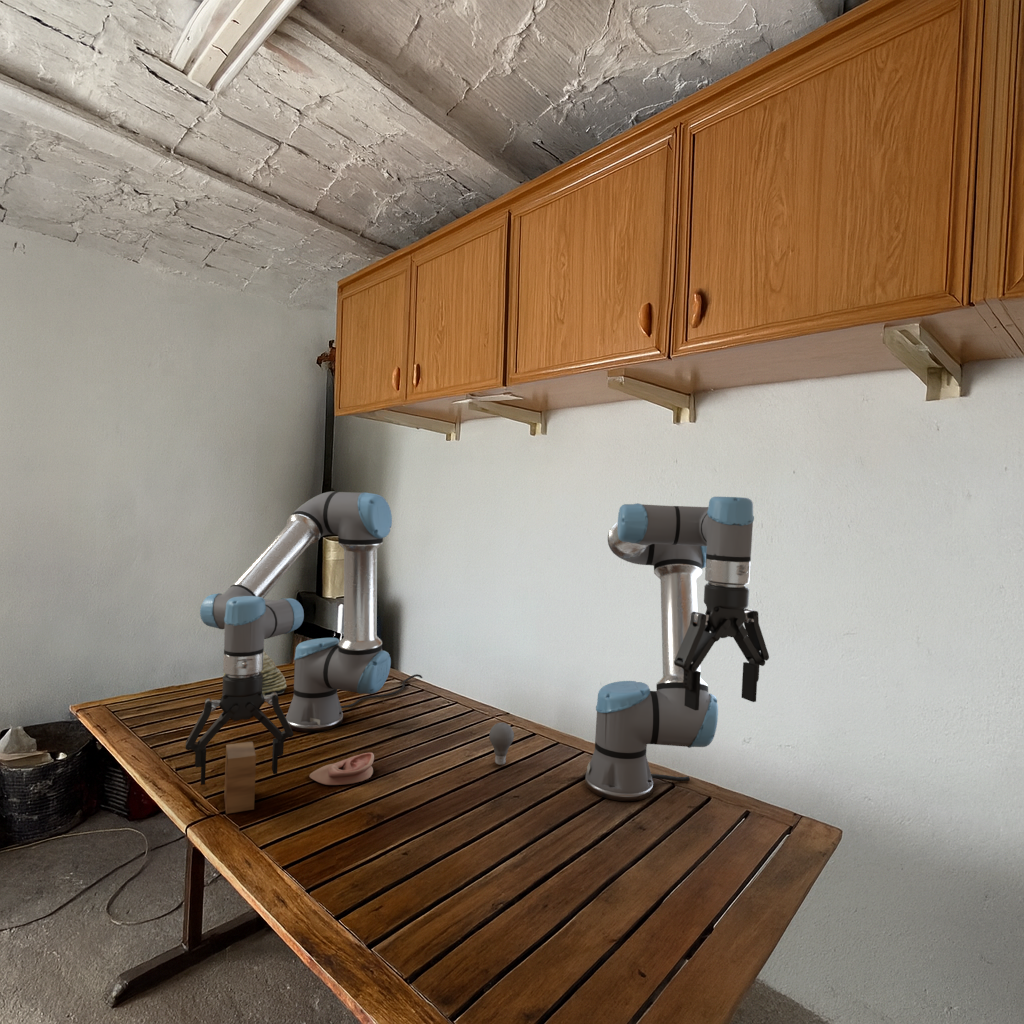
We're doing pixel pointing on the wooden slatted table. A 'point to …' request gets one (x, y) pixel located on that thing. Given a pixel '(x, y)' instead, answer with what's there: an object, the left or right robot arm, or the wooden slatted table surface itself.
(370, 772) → the anatomical model
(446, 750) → the wooden slatted table surface
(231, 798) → the block
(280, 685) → the fossil
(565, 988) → the wooden slatted table surface
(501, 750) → the light bulb
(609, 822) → the wooden slatted table surface
